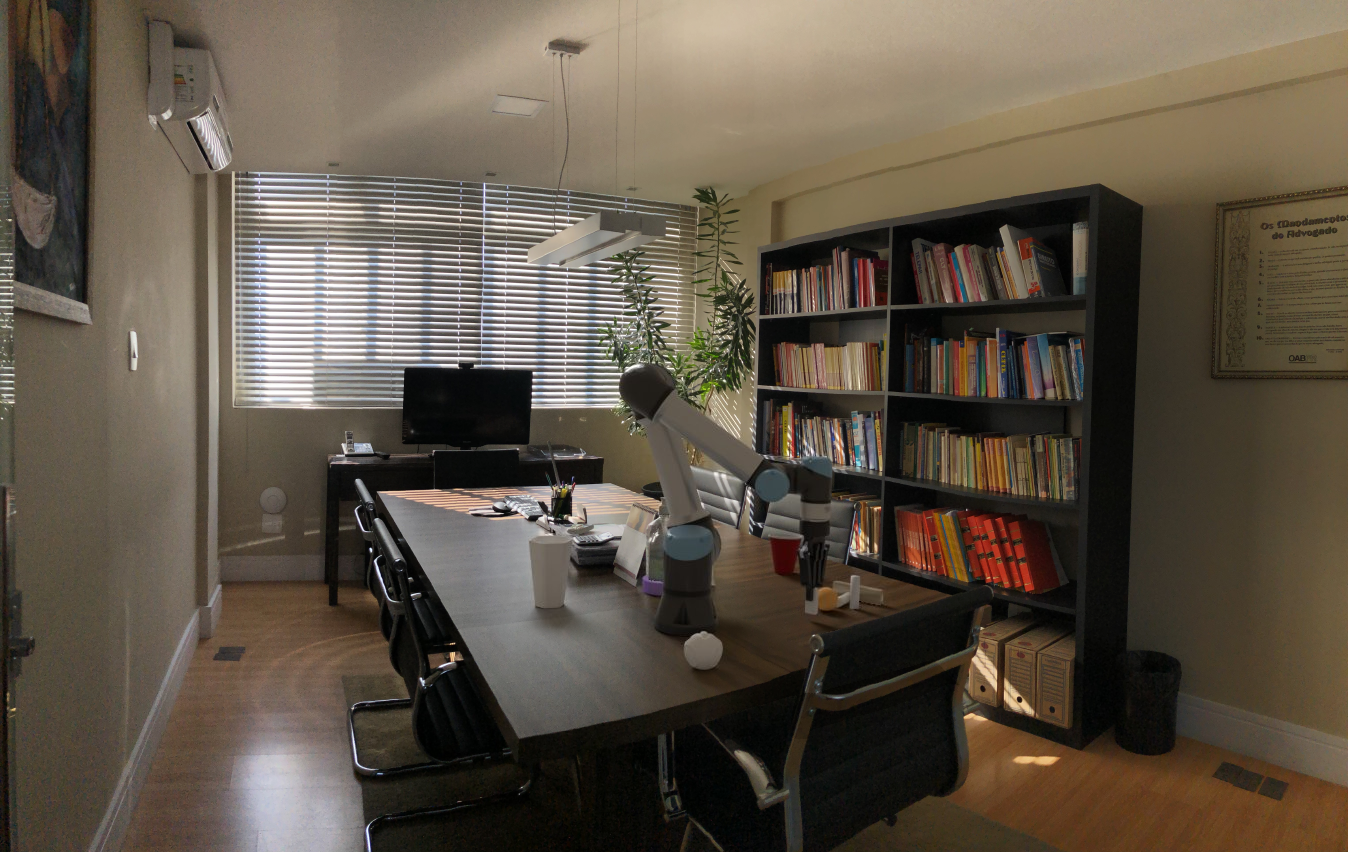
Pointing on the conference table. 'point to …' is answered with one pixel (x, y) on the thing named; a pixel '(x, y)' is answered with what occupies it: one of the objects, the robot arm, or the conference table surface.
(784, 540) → the plastic cup
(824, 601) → the ball
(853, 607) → the pin
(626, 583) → the conference table surface
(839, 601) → the pin
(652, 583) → the masking tape
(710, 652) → the white round lump
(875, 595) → the stop wall
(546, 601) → the cup
